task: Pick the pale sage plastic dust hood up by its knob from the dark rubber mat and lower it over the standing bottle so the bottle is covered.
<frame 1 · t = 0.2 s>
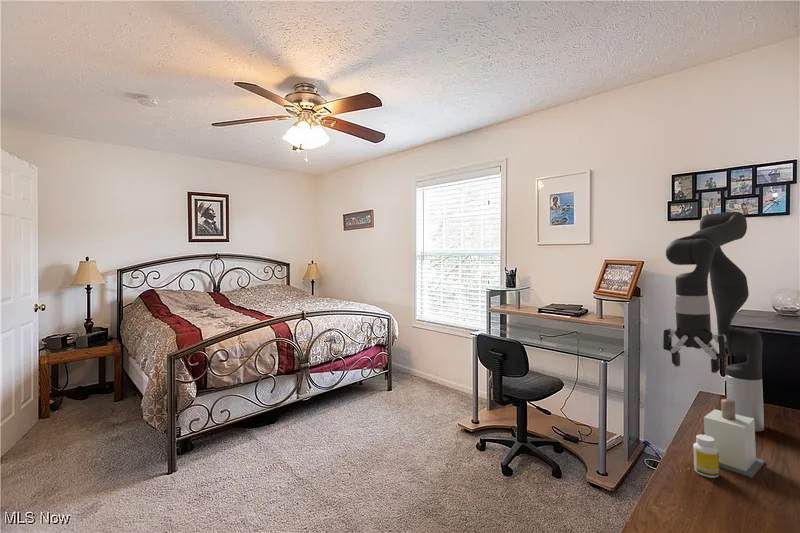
hand: (695, 369, 104), 29 cm above the cabinet, fingers open, 8 cm apart
mat: (730, 461, 108), on the cabinet
dust hood: (730, 459, 108), point 1 cm above the cabinet, touching mat
supplement bottle: (706, 473, 103), on the cabinet
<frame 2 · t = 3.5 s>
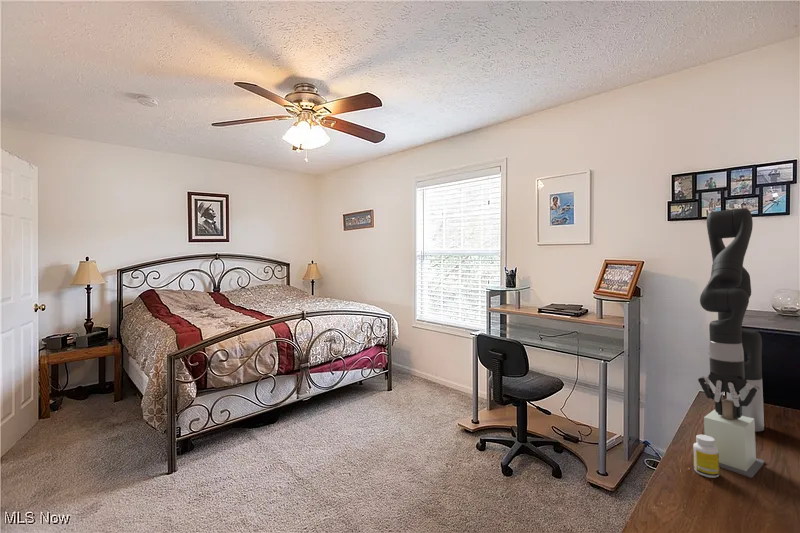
hand: (728, 416, 108), 13 cm above the cabinet, fingers closed on dust hood, 3 cm apart
dust hood: (730, 459, 108), point 1 cm above the cabinet, touching gripper, mat
everything else where it was.
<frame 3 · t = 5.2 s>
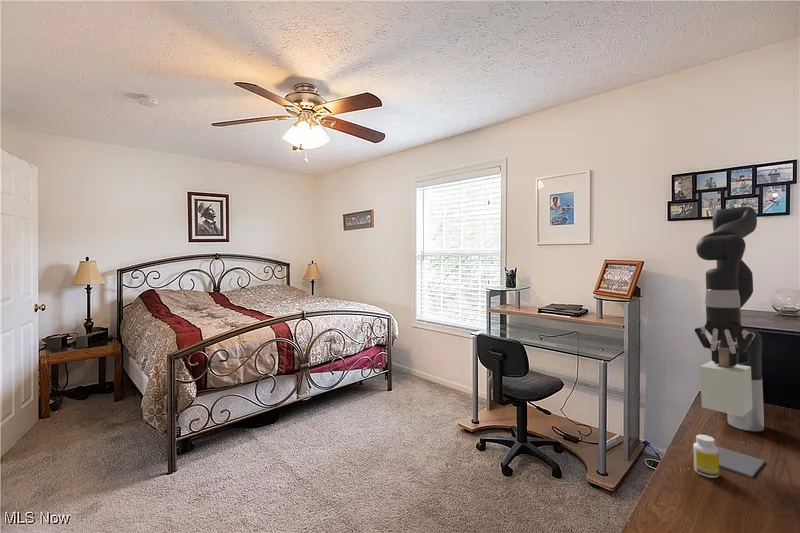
hand: (724, 364, 107), 28 cm above the cabinet, fingers closed on dust hood, 3 cm apart
dust hood: (726, 407, 107), point 16 cm above the cabinet, touching gripper
everything else where it was.
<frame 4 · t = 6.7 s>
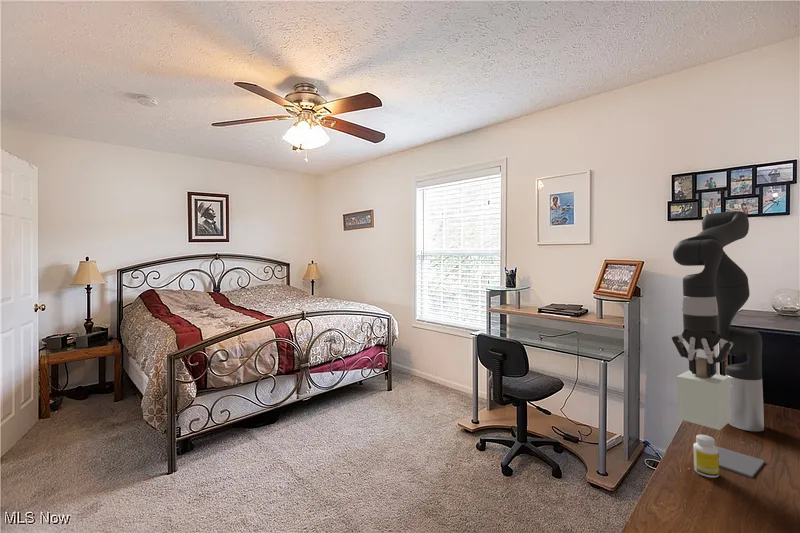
hand: (702, 374, 102), 27 cm above the cabinet, fingers closed on dust hood, 3 cm apart
dust hood: (704, 419, 103), point 15 cm above the cabinet, touching gripper
everything else where it was.
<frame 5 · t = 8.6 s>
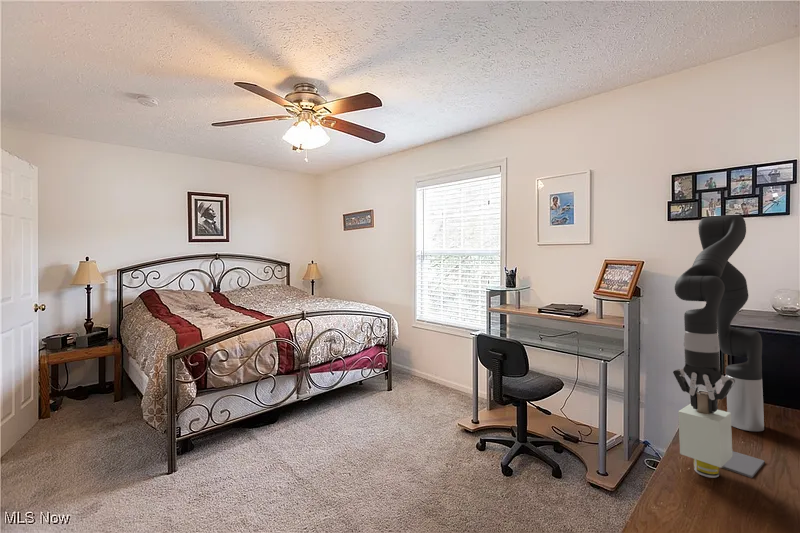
hand: (704, 410, 103), 17 cm above the cabinet, fingers closed on dust hood, 3 cm apart
dust hood: (705, 455, 103), point 5 cm above the cabinet, touching gripper
everything else where it was.
when the fingers open (14 cm above the cabinet, at t = 10.3 s): dust hood drops 2 cm, on the cabinet.
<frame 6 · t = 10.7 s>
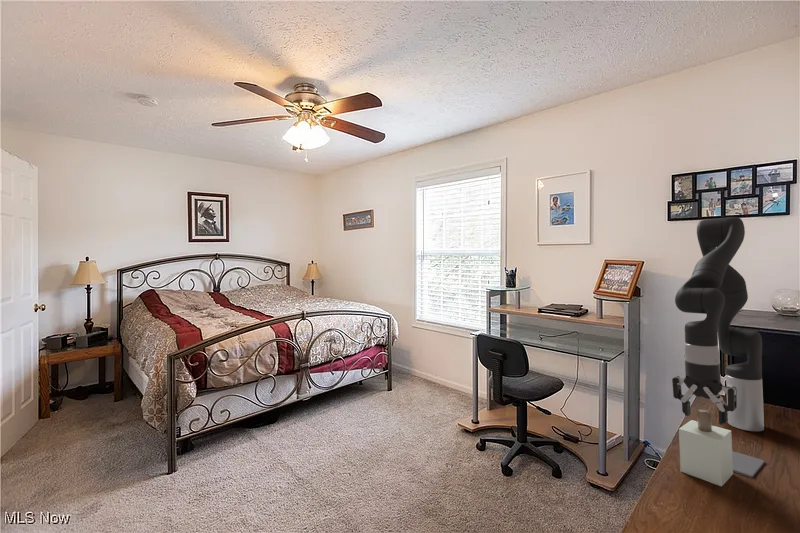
hand: (704, 419, 103), 15 cm above the cabinet, fingers open, 7 cm apart
dust hood: (706, 472, 103), on the cabinet
everything else where it was.
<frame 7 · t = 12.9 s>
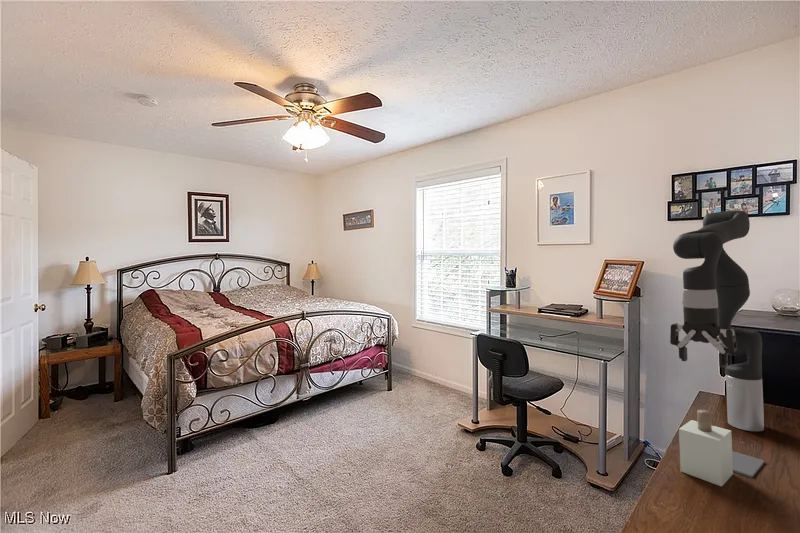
hand: (702, 363, 103), 30 cm above the cabinet, fingers open, 8 cm apart
nothing on the cabinet moved.
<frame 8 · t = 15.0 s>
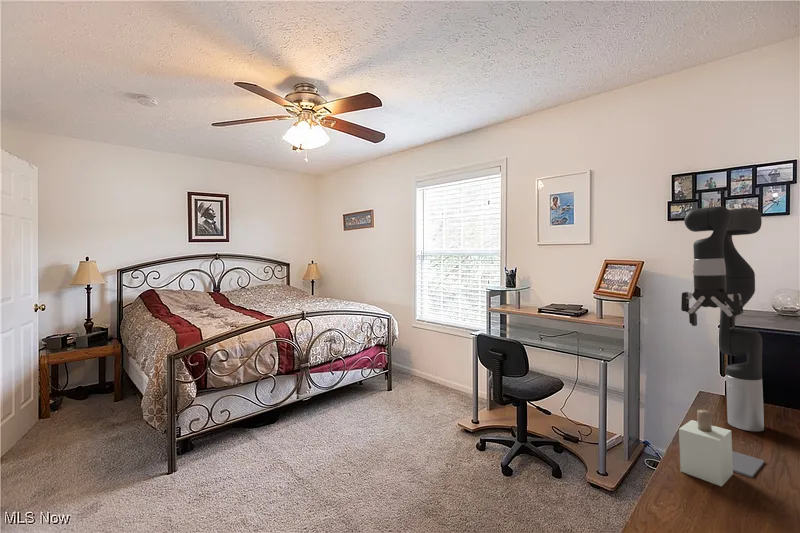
hand: (711, 327, 112), 38 cm above the cabinet, fingers open, 8 cm apart
nothing on the cabinet moved.
at the end: dust hood 0.0 cm from the supplement bottle (horizontally); dust hood on the cabinet; supplement bottle tilted 0° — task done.
